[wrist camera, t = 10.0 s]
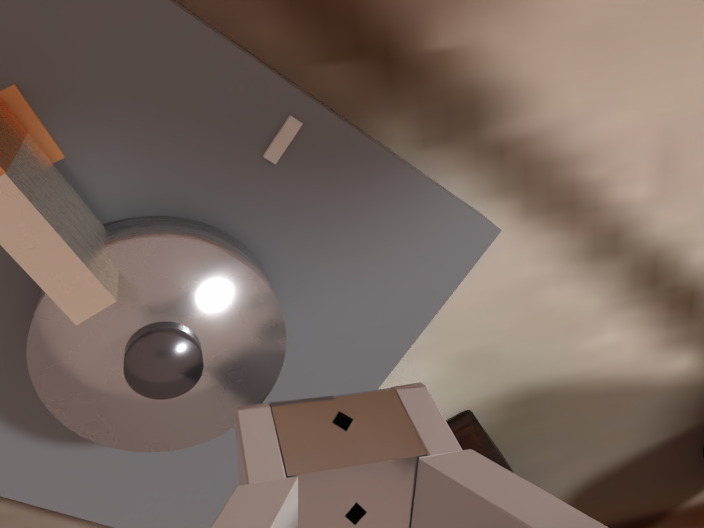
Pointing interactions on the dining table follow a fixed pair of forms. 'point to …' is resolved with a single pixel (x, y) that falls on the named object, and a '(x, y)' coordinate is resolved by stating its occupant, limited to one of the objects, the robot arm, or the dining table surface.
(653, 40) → the dining table surface
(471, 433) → the manual coffee grinder
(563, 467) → the dining table surface
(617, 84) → the dining table surface
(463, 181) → the dining table surface
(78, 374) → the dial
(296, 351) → the board
